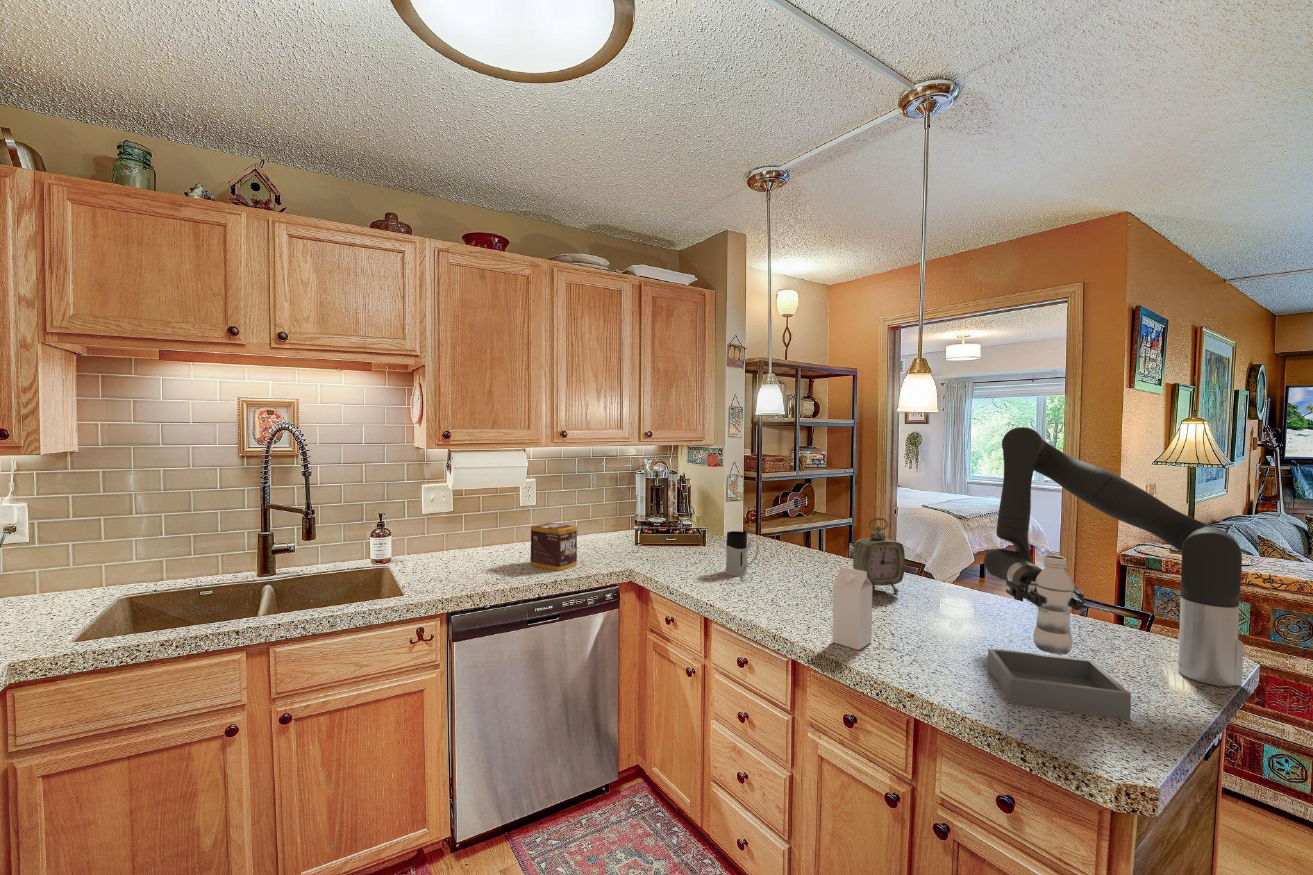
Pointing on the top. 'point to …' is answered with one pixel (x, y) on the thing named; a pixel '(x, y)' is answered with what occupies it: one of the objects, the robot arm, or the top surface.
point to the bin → (1058, 683)
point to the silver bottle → (1054, 607)
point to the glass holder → (737, 553)
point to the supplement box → (553, 546)
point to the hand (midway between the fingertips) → (1058, 603)
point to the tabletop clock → (880, 558)
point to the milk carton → (852, 608)
